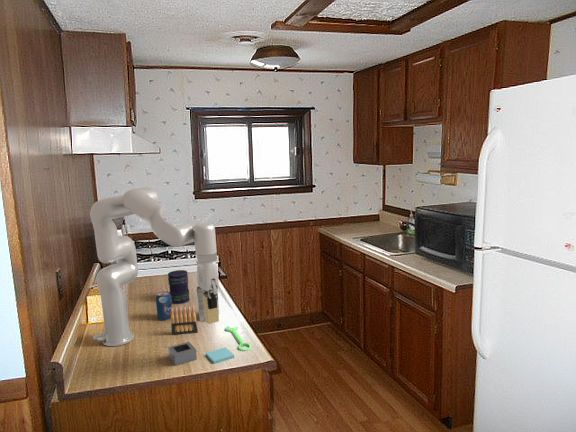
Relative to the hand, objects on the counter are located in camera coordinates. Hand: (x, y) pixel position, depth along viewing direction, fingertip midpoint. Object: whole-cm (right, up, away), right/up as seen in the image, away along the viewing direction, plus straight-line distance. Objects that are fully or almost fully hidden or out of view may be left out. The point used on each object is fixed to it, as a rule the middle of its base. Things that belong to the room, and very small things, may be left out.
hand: (210, 305), depth 164 cm
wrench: (+8, -18, +19) cm, 27 cm away
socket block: (-11, -20, +3) cm, 23 cm away
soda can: (-28, -15, +44) cm, 54 cm away
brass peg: (0, -6, +1) cm, 6 cm away
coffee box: (-8, -14, +42) cm, 45 cm away
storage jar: (-27, -11, +66) cm, 72 cm away
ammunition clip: (-15, -17, +26) cm, 35 cm away
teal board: (+3, -20, +3) cm, 20 cm away
